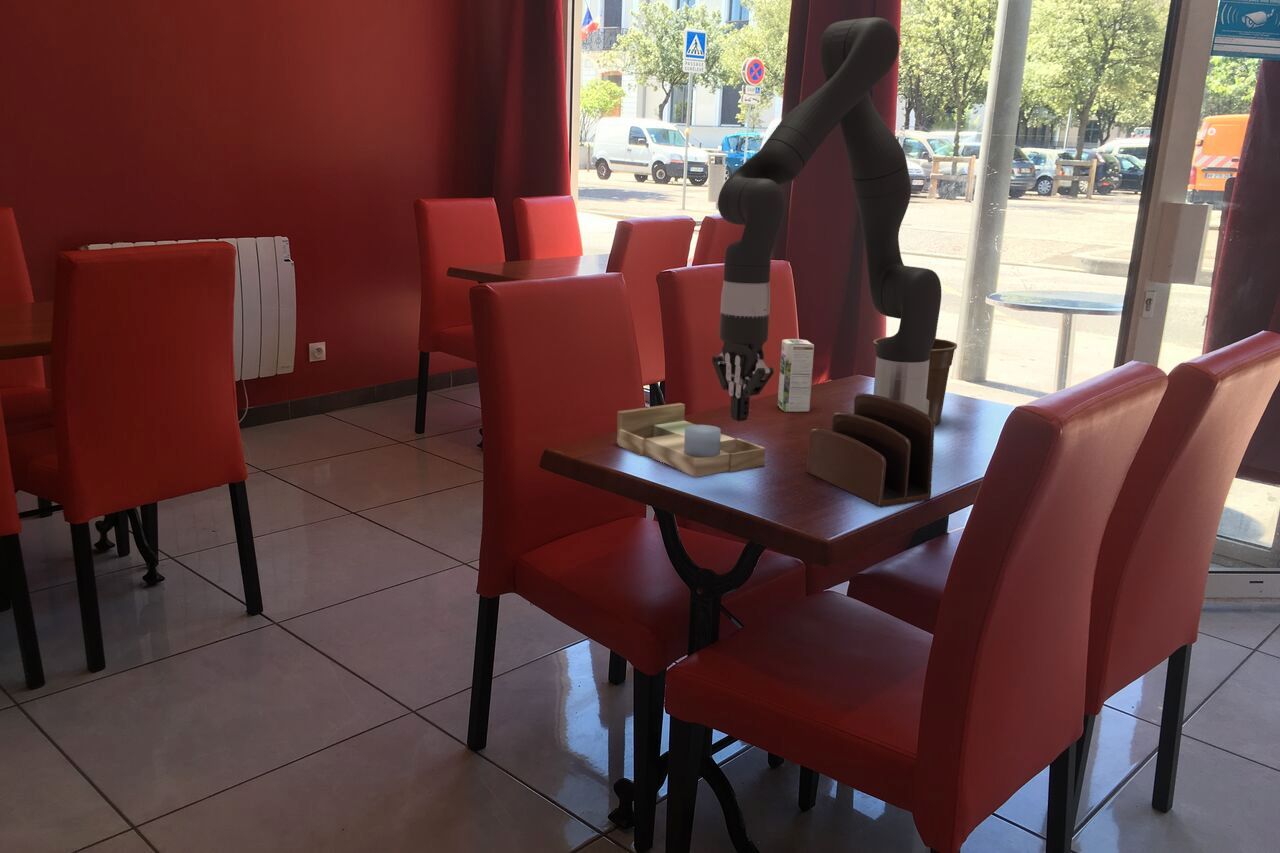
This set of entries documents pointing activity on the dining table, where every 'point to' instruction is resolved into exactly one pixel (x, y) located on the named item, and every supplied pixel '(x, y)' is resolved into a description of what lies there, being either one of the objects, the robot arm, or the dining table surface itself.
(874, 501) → the letter holder
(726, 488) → the dining table surface
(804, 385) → the syrup box
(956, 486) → the dining table surface
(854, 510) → the dining table surface
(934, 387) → the plant pot
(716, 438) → the grey rounded block
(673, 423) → the tray
